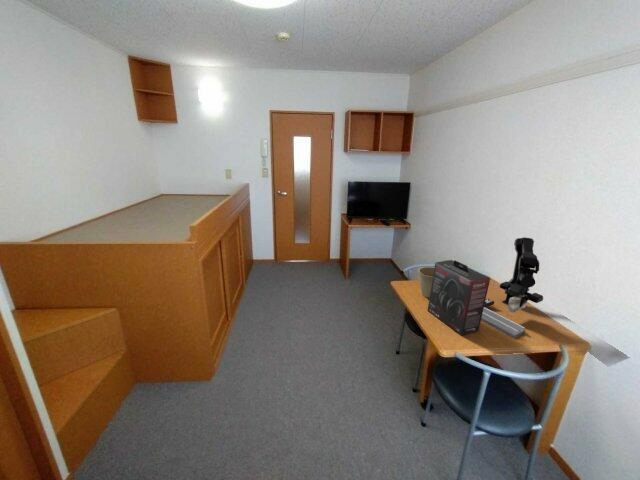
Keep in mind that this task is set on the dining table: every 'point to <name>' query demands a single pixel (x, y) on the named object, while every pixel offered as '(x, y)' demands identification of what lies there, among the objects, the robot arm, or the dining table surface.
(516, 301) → the door panel
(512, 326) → the rail
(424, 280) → the plant pot
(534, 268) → the robot arm
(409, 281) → the dining table surface
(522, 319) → the dining table surface
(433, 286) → the headset box
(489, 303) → the clip-on lamp
